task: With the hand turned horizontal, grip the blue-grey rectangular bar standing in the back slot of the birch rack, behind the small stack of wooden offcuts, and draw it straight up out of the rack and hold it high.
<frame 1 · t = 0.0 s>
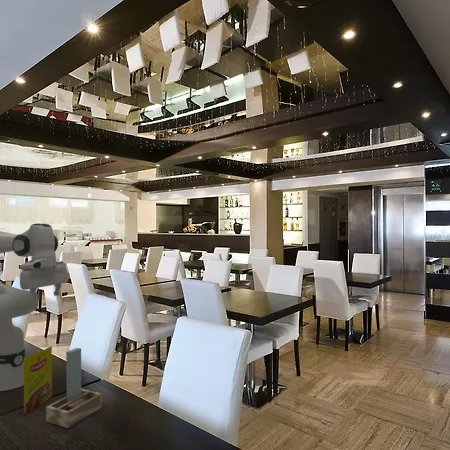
hand: (46, 297, 152), 39 cm above the table, tool pointing down, fingers open, 8 cm apart
slot rack: (75, 414, 136), on the table
blue-grey rectangular bar: (74, 410, 139), resting in slot rack
upper offcut: (77, 409, 134), point 2 cm above the table, touching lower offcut
food package: (38, 406, 143), on the table
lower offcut: (77, 417, 134), resting in slot rack, touching upper offcut
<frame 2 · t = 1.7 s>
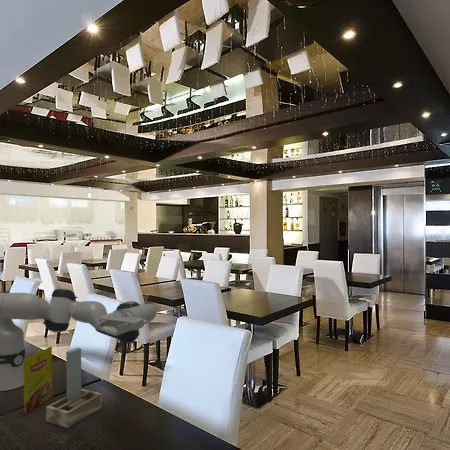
hand: (108, 326, 155), 26 cm above the table, tool horizontal, fingers open, 8 cm apart
nothing on the table moved.
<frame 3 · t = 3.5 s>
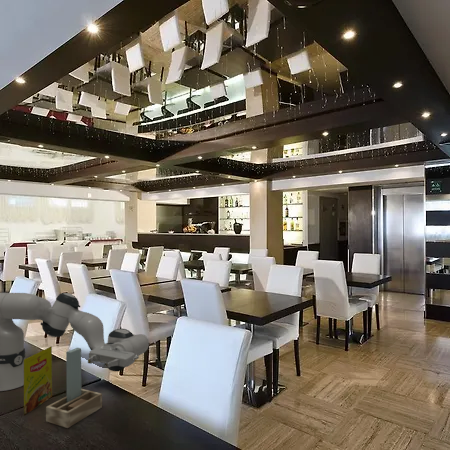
hand: (98, 363, 150), 13 cm above the table, tool horizontal, fingers open, 8 cm apart
nothing on the table moved.
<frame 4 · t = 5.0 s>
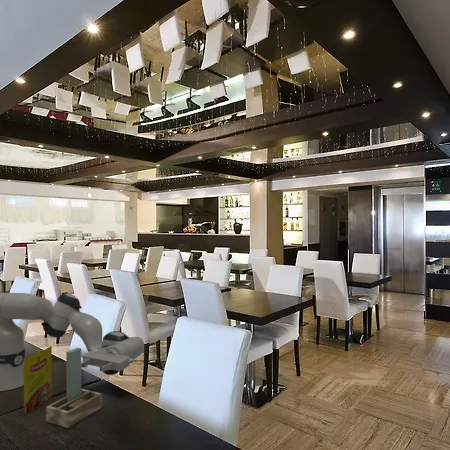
hand: (91, 367, 146), 13 cm above the table, tool horizontal, fingers open, 8 cm apart
nothing on the table moved.
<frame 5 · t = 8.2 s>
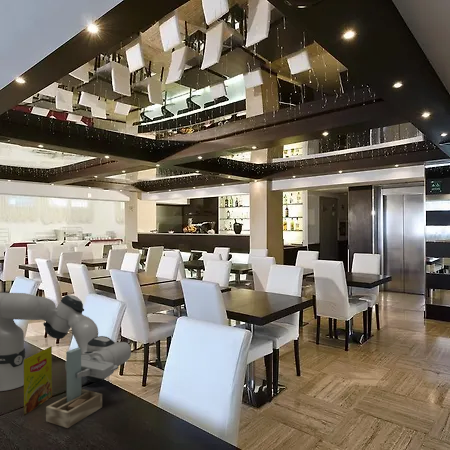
hand: (73, 374, 138), 13 cm above the table, tool horizontal, fingers closed on blue-grey rectangular bar, 2 cm apart
blue-grey rectangular bar: (74, 410, 139), resting in slot rack, touching gripper
everything else where it was.
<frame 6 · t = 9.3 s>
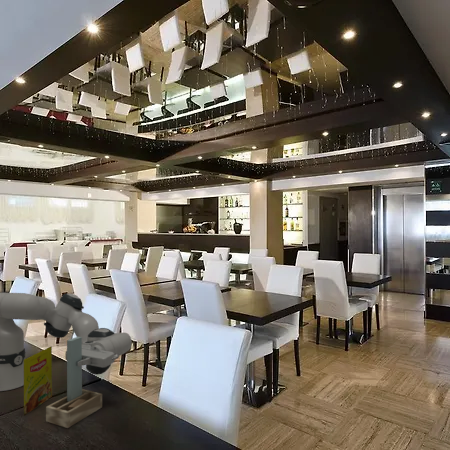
hand: (73, 363, 138), 17 cm above the table, tool horizontal, fingers closed on blue-grey rectangular bar
blue-grey rectangular bar: (74, 398, 139), point 4 cm above the table, touching gripper
everything else where it was.
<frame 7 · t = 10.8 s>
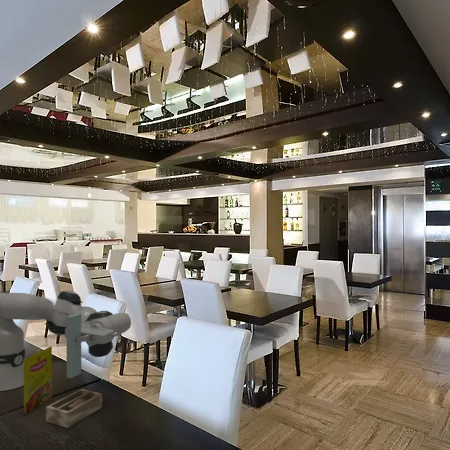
hand: (73, 339, 138), 26 cm above the table, tool horizontal, fingers closed on blue-grey rectangular bar
blue-grey rectangular bar: (74, 375, 139), point 13 cm above the table, touching gripper
everything else where it was.
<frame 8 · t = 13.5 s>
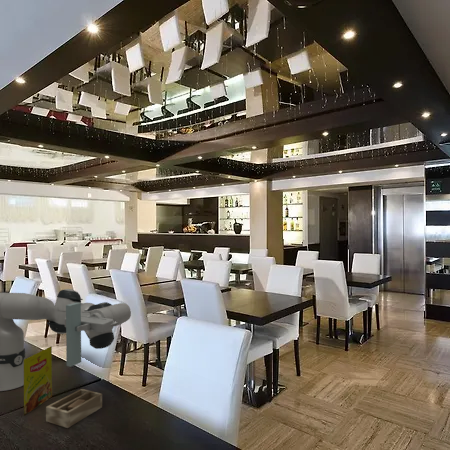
hand: (72, 328, 138), 30 cm above the table, tool horizontal, fingers closed on blue-grey rectangular bar
blue-grey rectangular bar: (74, 363, 139), point 17 cm above the table, touching gripper
everything else where it was.
at the end: the gripper is holding blue-grey rectangular bar; blue-grey rectangular bar inside the target area (0.0 cm from its centre), point 16.9 cm above the table; upper offcut moved 0.2 cm from its start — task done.
